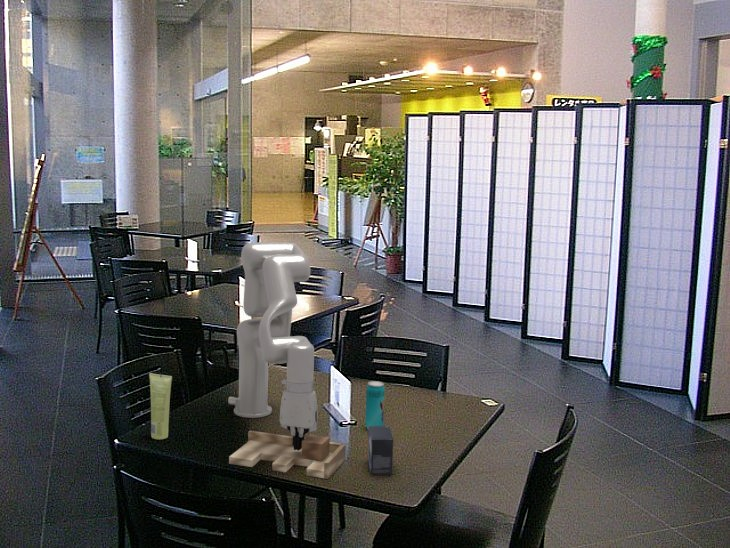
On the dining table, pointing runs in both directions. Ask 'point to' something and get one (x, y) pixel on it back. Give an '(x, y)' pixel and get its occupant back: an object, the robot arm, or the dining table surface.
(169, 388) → the tube
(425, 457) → the dining table surface
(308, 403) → the robot arm
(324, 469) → the trap tray
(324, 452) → the walnut block
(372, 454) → the small box
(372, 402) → the beverage can
